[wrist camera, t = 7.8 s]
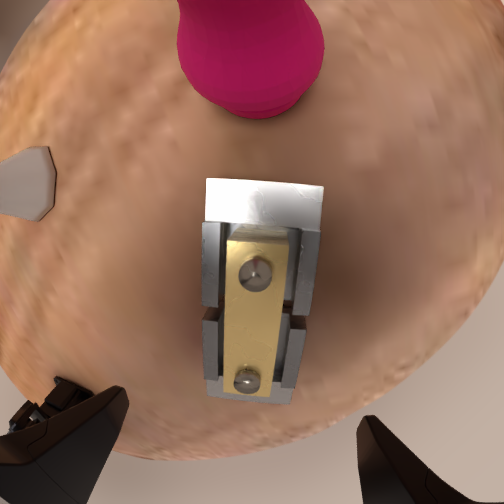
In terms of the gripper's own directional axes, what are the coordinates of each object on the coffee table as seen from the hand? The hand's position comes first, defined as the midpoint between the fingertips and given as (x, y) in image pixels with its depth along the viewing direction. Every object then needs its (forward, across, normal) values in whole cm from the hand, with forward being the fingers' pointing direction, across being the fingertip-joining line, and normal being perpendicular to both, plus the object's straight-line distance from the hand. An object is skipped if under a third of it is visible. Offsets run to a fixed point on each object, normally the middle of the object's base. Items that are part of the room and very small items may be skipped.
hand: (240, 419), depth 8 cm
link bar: (+10, 0, 0) cm, 10 cm away
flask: (+11, +21, -8) cm, 25 cm away
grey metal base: (+11, 0, 0) cm, 11 cm away
